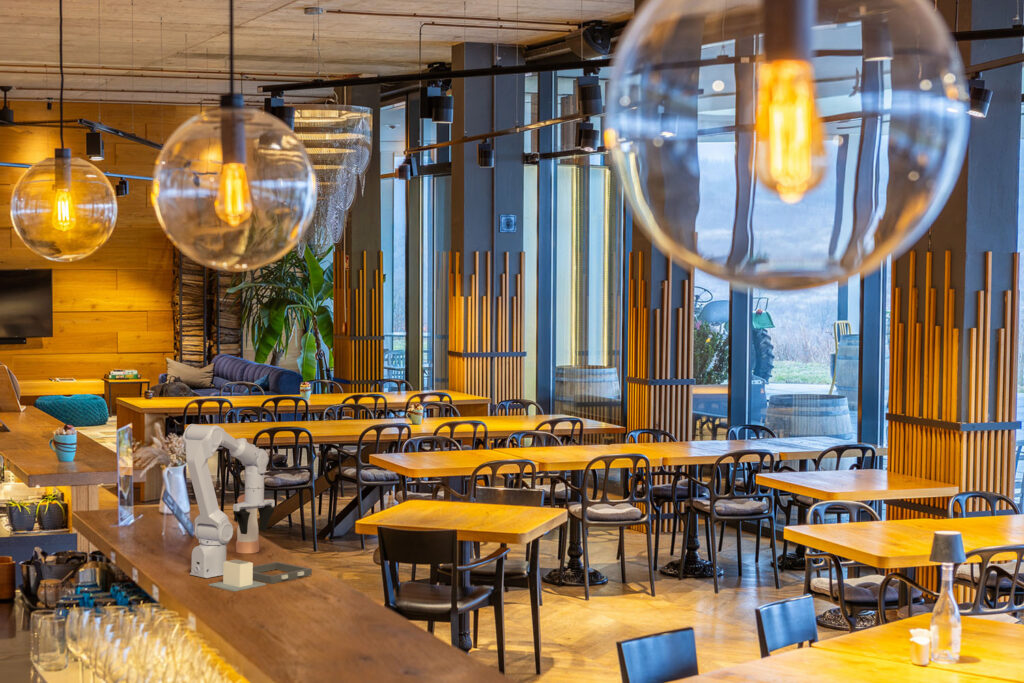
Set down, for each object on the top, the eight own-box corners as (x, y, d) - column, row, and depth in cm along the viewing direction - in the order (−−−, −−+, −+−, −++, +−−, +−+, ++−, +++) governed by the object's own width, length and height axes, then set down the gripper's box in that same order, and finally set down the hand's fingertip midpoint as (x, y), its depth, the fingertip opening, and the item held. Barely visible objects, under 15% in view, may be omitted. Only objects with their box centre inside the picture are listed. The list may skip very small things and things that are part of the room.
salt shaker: (256, 553, 362) (257, 493, 362) (233, 553, 362) (234, 493, 362) (261, 549, 369) (262, 490, 369) (239, 549, 369) (240, 490, 369)
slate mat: (234, 591, 308) (234, 590, 308) (208, 585, 315) (208, 584, 315) (265, 585, 317) (265, 583, 317) (240, 579, 324) (240, 577, 324)
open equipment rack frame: (272, 584, 318) (273, 577, 318) (236, 576, 328) (236, 569, 328) (313, 575, 330) (313, 569, 330) (277, 568, 340) (277, 561, 340)
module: (239, 587, 312) (239, 564, 312) (223, 583, 316) (223, 561, 316) (252, 584, 316) (252, 562, 316) (236, 580, 320) (236, 558, 320)
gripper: (244, 491, 339) (243, 536, 339) (281, 486, 350) (280, 530, 350) (228, 488, 343) (228, 534, 343) (266, 484, 355) (265, 528, 355)
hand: (253, 532), depth 347 cm, fingers open, 7 cm apart
